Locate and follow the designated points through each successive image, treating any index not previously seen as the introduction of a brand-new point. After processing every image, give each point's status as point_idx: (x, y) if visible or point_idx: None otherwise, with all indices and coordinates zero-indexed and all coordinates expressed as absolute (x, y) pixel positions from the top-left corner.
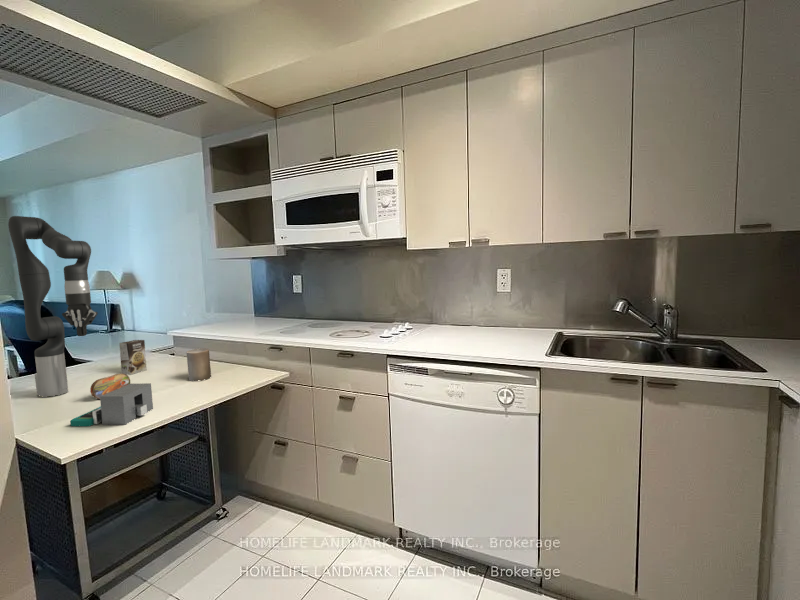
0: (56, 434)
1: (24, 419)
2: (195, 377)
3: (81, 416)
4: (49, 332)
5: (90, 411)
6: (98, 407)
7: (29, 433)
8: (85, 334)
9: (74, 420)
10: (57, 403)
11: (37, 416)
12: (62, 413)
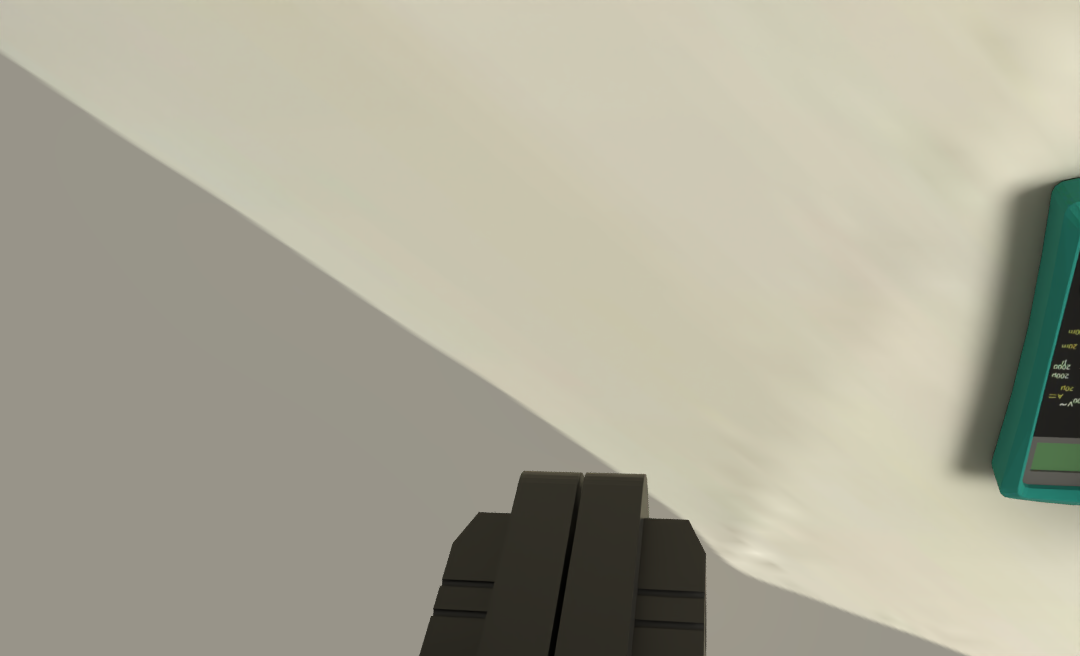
0: (997, 567)
1: (481, 353)
2: None
3: (1039, 433)
4: None
5: (1053, 356)
6: (1070, 276)
7: (784, 546)
8: (642, 500)
9: (1043, 500)
10: (352, 5)
11: (522, 304)
12: (681, 247)
